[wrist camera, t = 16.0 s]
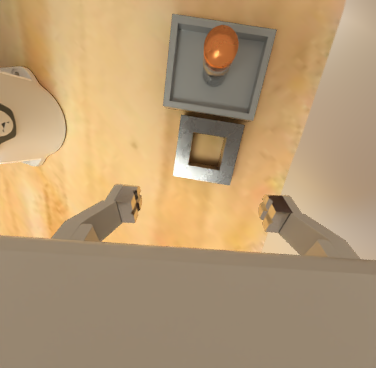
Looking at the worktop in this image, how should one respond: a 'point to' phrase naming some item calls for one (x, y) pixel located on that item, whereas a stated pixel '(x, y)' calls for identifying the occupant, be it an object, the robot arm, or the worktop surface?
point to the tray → (235, 79)
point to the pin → (219, 54)
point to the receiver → (227, 156)
